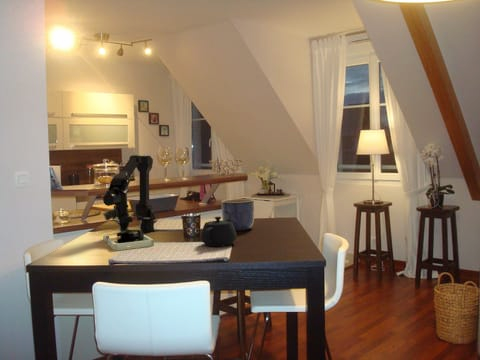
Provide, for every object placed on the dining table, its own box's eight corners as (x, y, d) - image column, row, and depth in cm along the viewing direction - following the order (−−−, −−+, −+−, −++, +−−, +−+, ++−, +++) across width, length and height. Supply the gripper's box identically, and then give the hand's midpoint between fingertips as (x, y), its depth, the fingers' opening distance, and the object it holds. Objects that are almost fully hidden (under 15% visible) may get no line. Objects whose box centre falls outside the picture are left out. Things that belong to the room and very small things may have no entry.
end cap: (144, 243, 218) (143, 228, 217) (135, 246, 211) (135, 231, 211) (125, 243, 221) (124, 228, 221) (116, 246, 215) (115, 231, 214)
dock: (136, 235, 238) (136, 229, 238) (141, 238, 229) (141, 232, 229) (103, 239, 231) (102, 233, 231) (106, 243, 222) (106, 236, 222)
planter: (217, 231, 240) (215, 202, 239) (230, 226, 256) (229, 198, 255) (247, 232, 234) (246, 202, 233) (259, 227, 250) (258, 198, 248)
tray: (144, 240, 225) (144, 234, 225) (153, 245, 211) (153, 239, 211) (107, 244, 218) (107, 239, 218) (114, 250, 204) (114, 244, 204)
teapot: (223, 251, 194) (222, 221, 194) (190, 249, 201) (188, 220, 200) (247, 239, 217) (246, 212, 216) (216, 238, 224) (215, 212, 223)
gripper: (100, 202, 232) (102, 234, 233) (107, 206, 215) (109, 240, 216) (123, 200, 237) (125, 232, 238) (132, 204, 220) (134, 237, 221)
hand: (123, 235), depth 228 cm, fingers closed
